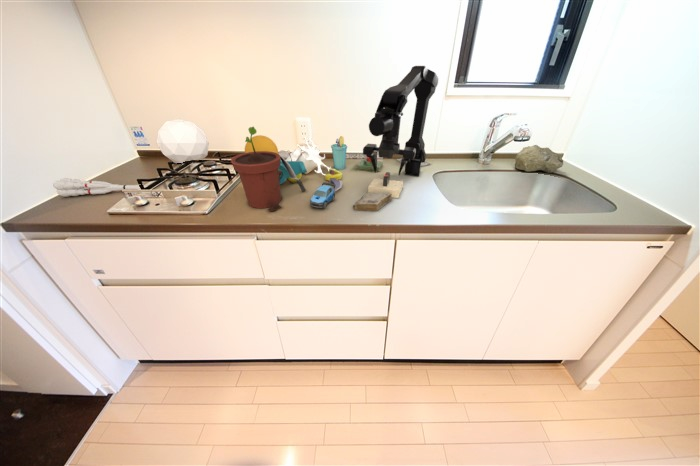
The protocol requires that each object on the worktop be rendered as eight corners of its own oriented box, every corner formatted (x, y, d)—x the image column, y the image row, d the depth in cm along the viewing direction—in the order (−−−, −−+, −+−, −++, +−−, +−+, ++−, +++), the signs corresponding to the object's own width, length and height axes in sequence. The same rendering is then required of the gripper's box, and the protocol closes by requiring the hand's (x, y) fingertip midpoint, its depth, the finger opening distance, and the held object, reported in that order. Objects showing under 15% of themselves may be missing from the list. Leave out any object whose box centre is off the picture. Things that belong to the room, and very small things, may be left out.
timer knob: (385, 181, 100) (386, 171, 98) (389, 181, 100) (390, 171, 97) (382, 186, 96) (383, 175, 94) (386, 186, 96) (387, 176, 93)
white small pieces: (310, 130, 121) (314, 135, 122) (303, 136, 124) (307, 141, 126) (289, 159, 102) (294, 164, 103) (280, 165, 105) (285, 170, 107)
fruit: (304, 183, 105) (302, 154, 99) (289, 186, 102) (285, 157, 96) (299, 177, 110) (295, 150, 103) (284, 180, 107) (279, 153, 101)
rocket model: (51, 173, 90) (144, 175, 95) (69, 182, 97) (156, 183, 102) (46, 192, 88) (142, 192, 93) (65, 200, 95) (153, 200, 100)
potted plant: (252, 190, 99) (236, 122, 85) (306, 190, 99) (299, 123, 85) (235, 211, 84) (212, 134, 70) (298, 211, 84) (288, 135, 71)
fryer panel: (402, 188, 102) (403, 181, 100) (398, 198, 94) (399, 190, 92) (373, 184, 105) (374, 177, 103) (367, 194, 97) (368, 186, 95)
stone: (371, 215, 83) (371, 207, 81) (351, 208, 87) (351, 200, 85) (392, 199, 93) (393, 192, 91) (373, 194, 97) (374, 187, 95)
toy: (251, 173, 112) (282, 159, 113) (234, 141, 108) (265, 127, 109) (258, 173, 126) (285, 161, 127) (243, 145, 122) (270, 133, 123)
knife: (346, 194, 97) (340, 172, 117) (346, 188, 95) (340, 166, 116) (326, 195, 96) (324, 172, 116) (326, 189, 94) (323, 167, 115)
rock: (577, 152, 107) (566, 157, 120) (533, 132, 113) (527, 140, 127) (551, 183, 113) (543, 185, 126) (510, 163, 119) (507, 167, 132)
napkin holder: (412, 159, 133) (414, 145, 129) (421, 163, 128) (423, 148, 124) (407, 160, 132) (409, 146, 128) (415, 164, 127) (418, 149, 123)
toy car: (307, 207, 86) (307, 192, 83) (322, 195, 96) (322, 181, 93) (323, 211, 84) (323, 196, 81) (336, 198, 94) (336, 184, 91)
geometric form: (147, 153, 122) (141, 125, 102) (182, 130, 133) (182, 101, 113) (184, 182, 129) (186, 162, 109) (214, 158, 140) (221, 136, 119)
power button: (374, 159, 122) (374, 156, 121) (372, 161, 119) (373, 158, 118) (367, 159, 122) (367, 155, 121) (365, 161, 120) (365, 157, 119)
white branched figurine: (303, 130, 112) (291, 140, 116) (295, 150, 99) (281, 161, 103) (332, 162, 123) (320, 170, 127) (328, 184, 109) (315, 193, 113)
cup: (345, 173, 115) (345, 140, 107) (329, 173, 116) (327, 139, 108) (348, 164, 127) (348, 133, 119) (333, 163, 128) (332, 132, 119)
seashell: (290, 176, 110) (275, 180, 115) (307, 161, 120) (293, 166, 126) (277, 154, 105) (262, 160, 111) (296, 141, 115) (282, 147, 121)
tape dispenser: (271, 183, 101) (262, 164, 97) (306, 170, 102) (298, 151, 98) (271, 187, 95) (262, 168, 91) (308, 174, 96) (300, 154, 92)
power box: (382, 166, 125) (383, 158, 122) (378, 171, 118) (379, 163, 115) (361, 163, 128) (362, 155, 125) (356, 169, 120) (356, 161, 118)
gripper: (359, 133, 83) (358, 178, 92) (415, 138, 78) (408, 184, 87) (367, 127, 92) (366, 168, 100) (419, 131, 87) (412, 173, 96)
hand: (387, 173), depth 96 cm, fingers open, 9 cm apart
